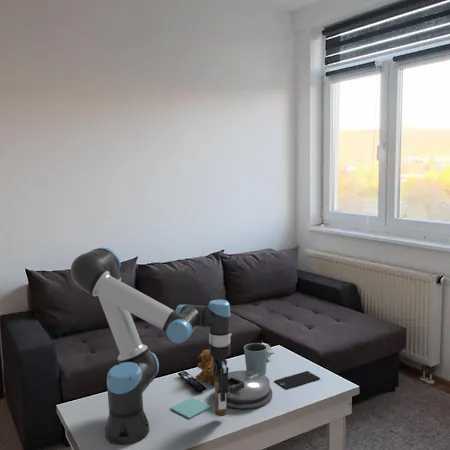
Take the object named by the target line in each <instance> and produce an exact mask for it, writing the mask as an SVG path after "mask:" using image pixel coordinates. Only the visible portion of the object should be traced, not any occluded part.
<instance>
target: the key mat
mask: <svg viewBox="0 0 450 450" xmlns="http://www.w3.org/2000/svg"><path fill="white" fill-rule="evenodd" d="M169 408H170V409H169V410H171V411H174V412H175V413H177V414H179V415H181V416H182V417H184V418H187V419H188V420H190V419H193V418H194V417H197V416H198V415H201V414H202V413H204V412H206V411H208V410H210V409H212V406H211V405H209V404H207V403H204V402H203V401H201V400H198V399H196V398H194V397H190V398H188V399H185V400H183V401H181V402H180V403H177V404H175V405H173V406H171V407H169Z"/></svg>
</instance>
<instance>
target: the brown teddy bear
mask: <svg viewBox="0 0 450 450" xmlns="http://www.w3.org/2000/svg"><path fill="white" fill-rule="evenodd" d="M197 358H200V359H201V362H198V364H197V368H198V369H199V370H201V372H200V373H199V374H197V375H196V376H195V379H196V380H197V381H198V380H199V381H198V382H200V383H209V385H213V386H215V384H214V382H215V381H213V357H212V356H211V355H210V350H209V349H203V350H202V351H201V353H200V354H199V355H198V357H197Z"/></svg>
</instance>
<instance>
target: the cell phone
mask: <svg viewBox="0 0 450 450" xmlns="http://www.w3.org/2000/svg"><path fill="white" fill-rule="evenodd" d="M320 380H321V378H320V376H317V375H316V374H314V373H312V372H310V371H309V370H306V371H303V372H298V373H296V374H293V375H289V376H286V377H281V378H278V379H275V380H274V381H273V382H274V383H275V384H276V385H278V386H280V387H281V388H283V389H284V390H286V391H287V390H290V389H293V388H297V387H300V386H304V385H307V384H310V383H313V382H316V381H320Z"/></svg>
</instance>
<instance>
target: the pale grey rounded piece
mask: <svg viewBox="0 0 450 450" xmlns="http://www.w3.org/2000/svg"><path fill="white" fill-rule="evenodd" d="M261 344H264V345H266V346H267V355H266V357H267V360H268V359H269V358H270V357H271V356H272V355H274V354H275V352H273V350H272V347H271V343H270V342H269V343H265V342H263V340H261Z"/></svg>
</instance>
